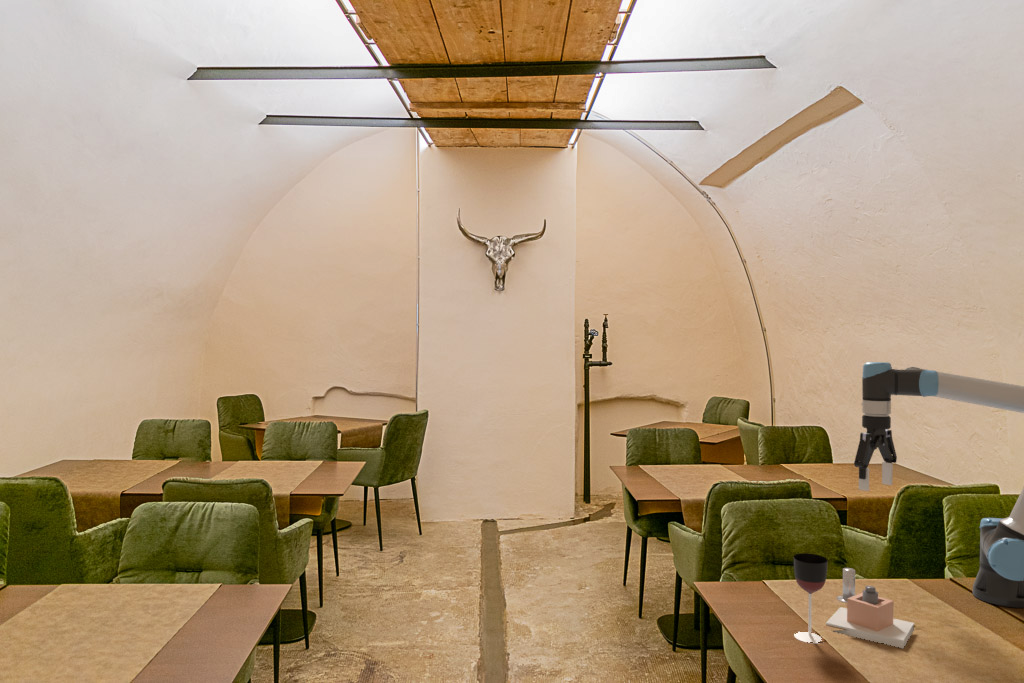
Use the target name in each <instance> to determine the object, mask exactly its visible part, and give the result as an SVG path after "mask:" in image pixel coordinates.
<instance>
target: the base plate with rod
mask: <svg viewBox="0 0 1024 683" xmlns="http://www.w3.org/2000/svg"><path fill="white" fill-rule="evenodd" d="M864 587H865V588H864V589H863V590H862V592H863V601H864V602H867V603H871V604H874V605H876V604H878V597H879V592H878V591H876V587H875V586H873V585H864ZM825 625H826V626H829V627H834V628H838V629H839V630H832V631H833V632H832V633H835V632H837V633H836V634H839V633H841V634H840V635H843V634H845V635H844V636H847V635H849V636H848V637H852V636H853V637H852V638H856V637H857V638H856V639H860V638H861V640H864V639H865V641H869V640H870V641H869V642H873V641H874V643H877V642H878V644H881V643H884V644H883V645H886V644H887V645H886V646H890V645H891V646H890V647H894V646H895V648H898V647H899V649H904V648H905V647H906V645H907V643H908V642H909V640H910V638H911V637H912V635H911V634H913V633H914V632H915V622H912V621H907V620H904V619H898V618H894V617H893V624H892V625H890V626H888V627H886V628H884V629H882V630H880V631H875V630H872V629H868V628H865V627H862V626H859V625H856V624H853V623H850V622H847V607H841V606H840V607H838V609H837V610H836V611H835V612H834V614H832V615H831V617H830V618H828V620H827V621H826V622H825ZM841 629H842V630H841ZM913 631H914V632H913ZM912 632H913V633H912ZM910 636H911V637H910ZM908 639H909V640H908ZM907 641H908V642H907ZM904 646H905V647H904Z"/></svg>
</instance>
